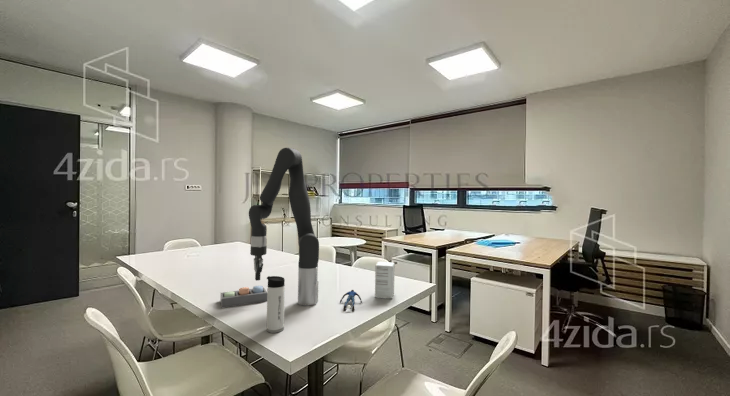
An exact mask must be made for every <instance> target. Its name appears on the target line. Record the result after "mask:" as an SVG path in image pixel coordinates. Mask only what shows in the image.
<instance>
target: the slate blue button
mask: <svg viewBox="0 0 730 396" xmlns="http://www.w3.org/2000/svg"><path fill="white" fill-rule="evenodd" d="M263 287H264V286H263V285H254V286H253V287H252V289H253V293H260V292H263Z"/></svg>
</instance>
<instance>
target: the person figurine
mask: <svg viewBox="0 0 730 396" xmlns="http://www.w3.org/2000/svg"><path fill="white" fill-rule="evenodd" d="M345 296H347V298H346V301H345V302H344V305H343V311H344V312H346V311H347V309H349V310H350V309H351V311H352V312H355V296H357V297H358V299H359V300H360V301H359V303H360V304H361V303H362V304H363V301H362V298H361V296H360V294H359V293H357V292H356V291H354V289H351V291H347V292H346V293H345V294H343V295H342V297H341V299H340V301H339V304H341V303H342V302H343V299H344V298H345ZM350 301H351V303H352V306H351V305H350V304H348V303H349V302H350ZM351 307H352V308H351Z"/></svg>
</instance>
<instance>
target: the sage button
mask: <svg viewBox="0 0 730 396" xmlns="http://www.w3.org/2000/svg"><path fill="white" fill-rule="evenodd" d="M225 292H226V293H224V297H229V296H235V292H231V291H225Z"/></svg>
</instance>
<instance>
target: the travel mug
mask: <svg viewBox="0 0 730 396" xmlns="http://www.w3.org/2000/svg"><path fill="white" fill-rule="evenodd" d="M266 280H267V290H266V292H267V301H266V331H267V332H268V333H270V334H276V333H280V332H282V331H283V330H284V329H285V325H284V324H285V291H286V290H285V289H286V288H285V287H286V284H285V280H286V279H285V277H282V276H277V275H276V276H275V275H271V276H270V275H268V276H267V277H266Z"/></svg>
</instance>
